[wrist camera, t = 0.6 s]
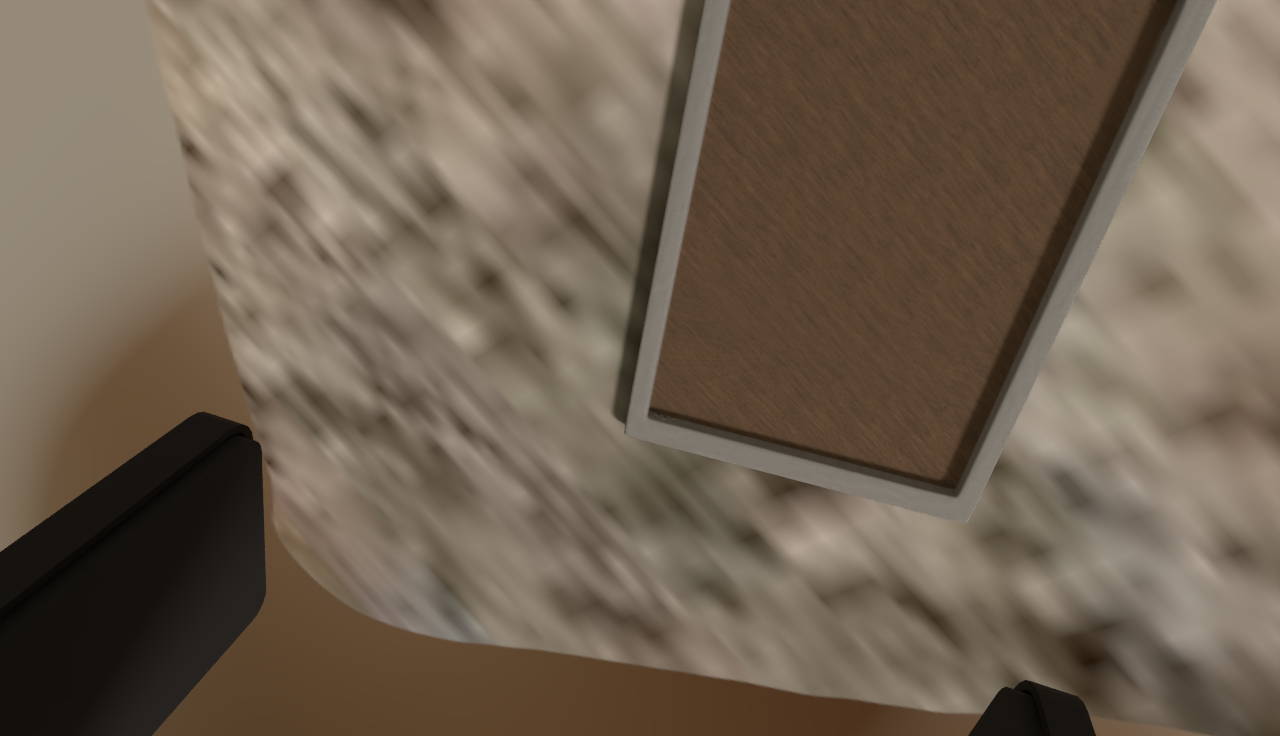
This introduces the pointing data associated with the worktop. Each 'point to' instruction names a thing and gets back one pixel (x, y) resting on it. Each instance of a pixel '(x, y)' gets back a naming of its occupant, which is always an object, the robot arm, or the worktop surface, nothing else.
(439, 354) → the worktop surface
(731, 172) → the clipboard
